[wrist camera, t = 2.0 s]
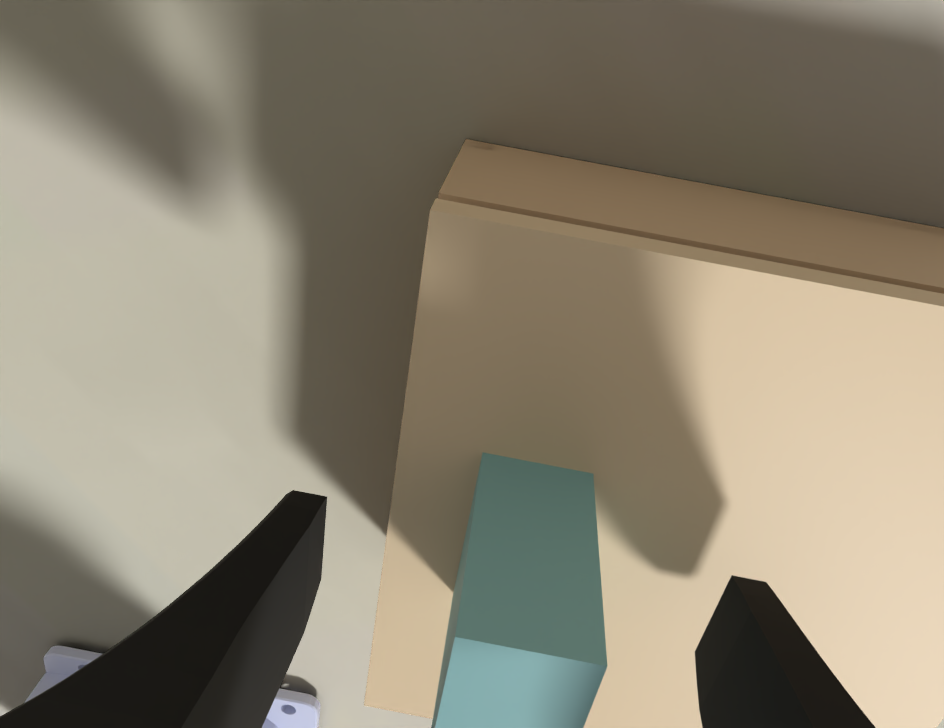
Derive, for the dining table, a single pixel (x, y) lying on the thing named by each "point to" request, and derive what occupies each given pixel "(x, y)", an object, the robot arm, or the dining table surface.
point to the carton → (697, 215)
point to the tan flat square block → (654, 477)
